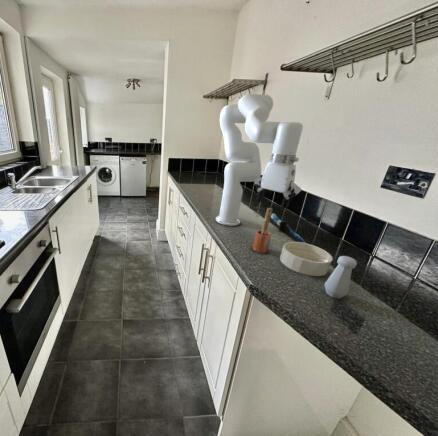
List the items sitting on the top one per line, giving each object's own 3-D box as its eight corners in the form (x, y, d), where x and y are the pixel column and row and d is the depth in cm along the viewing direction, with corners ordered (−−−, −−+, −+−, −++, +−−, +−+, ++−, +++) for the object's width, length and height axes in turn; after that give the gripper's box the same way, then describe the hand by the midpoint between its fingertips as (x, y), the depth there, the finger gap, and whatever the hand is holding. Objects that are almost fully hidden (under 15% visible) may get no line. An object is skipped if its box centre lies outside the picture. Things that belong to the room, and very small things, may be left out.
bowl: (271, 254, 93) (275, 241, 91) (307, 254, 94) (312, 241, 92) (295, 277, 79) (300, 262, 77) (337, 277, 80) (343, 263, 78)
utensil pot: (250, 247, 99) (253, 230, 96) (262, 247, 99) (266, 230, 96) (256, 253, 94) (260, 236, 91) (269, 253, 94) (273, 236, 91)
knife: (268, 218, 127) (270, 211, 125) (274, 219, 127) (276, 211, 125) (298, 252, 100) (302, 243, 98) (305, 252, 100) (309, 243, 98)
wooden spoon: (255, 248, 97) (264, 207, 90) (257, 247, 98) (267, 207, 91) (261, 251, 95) (272, 210, 88) (264, 250, 95) (274, 209, 89)
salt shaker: (335, 302, 69) (351, 265, 64) (317, 289, 74) (331, 254, 69) (349, 298, 70) (366, 262, 65) (331, 286, 75) (345, 252, 70)
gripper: (313, 162, 78) (299, 210, 84) (265, 156, 91) (256, 198, 97) (302, 163, 74) (288, 213, 80) (254, 157, 87) (245, 200, 93)
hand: (271, 205), depth 89 cm, fingers open, 9 cm apart
